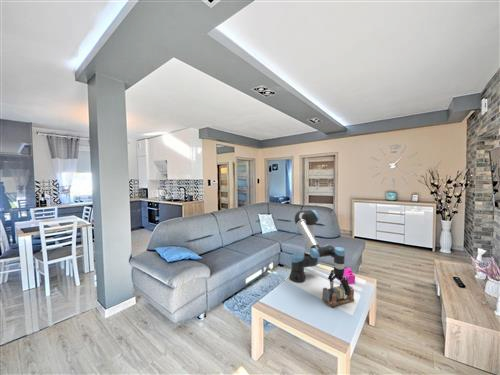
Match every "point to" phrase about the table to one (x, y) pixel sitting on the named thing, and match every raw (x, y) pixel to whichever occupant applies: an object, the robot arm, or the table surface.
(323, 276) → the table surface
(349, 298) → the stove stand
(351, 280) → the bracket
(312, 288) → the table surface
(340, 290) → the grey metal bar
